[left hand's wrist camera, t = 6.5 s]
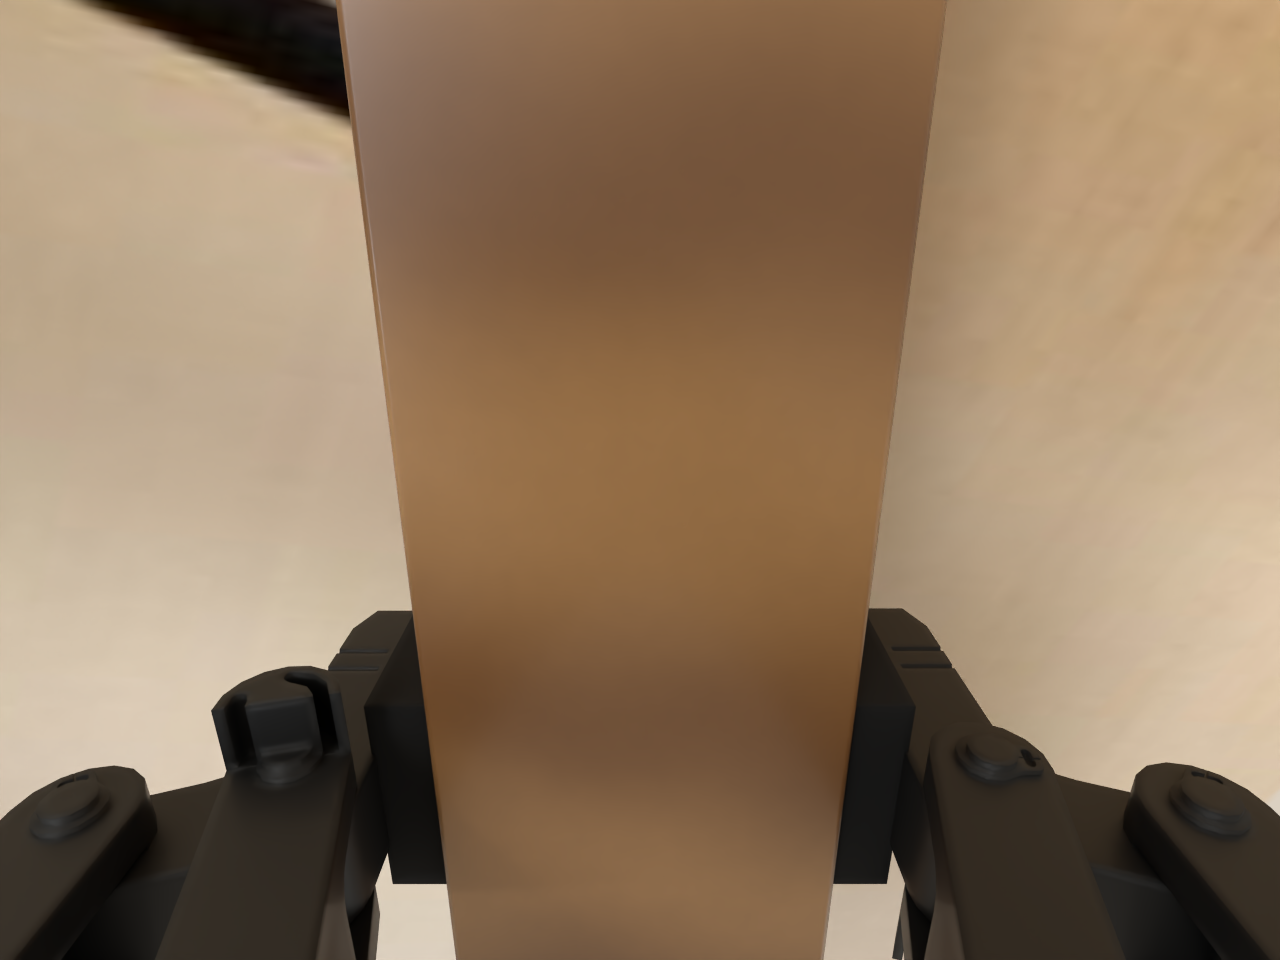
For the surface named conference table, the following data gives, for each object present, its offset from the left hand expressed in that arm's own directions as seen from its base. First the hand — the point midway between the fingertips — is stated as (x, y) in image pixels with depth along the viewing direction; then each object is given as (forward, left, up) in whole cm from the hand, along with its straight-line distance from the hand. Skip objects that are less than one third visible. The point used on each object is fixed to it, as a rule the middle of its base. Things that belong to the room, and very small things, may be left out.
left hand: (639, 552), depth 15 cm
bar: (+14, +25, -1) cm, 28 cm away
